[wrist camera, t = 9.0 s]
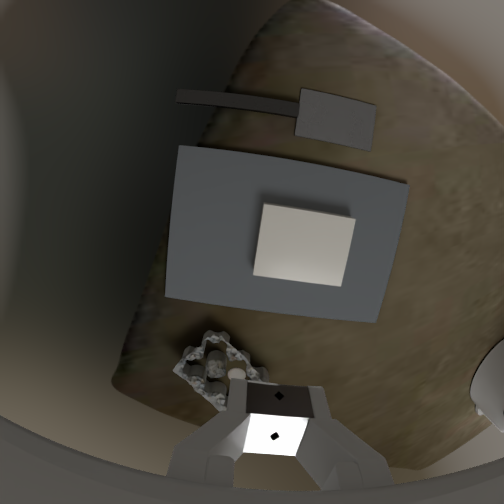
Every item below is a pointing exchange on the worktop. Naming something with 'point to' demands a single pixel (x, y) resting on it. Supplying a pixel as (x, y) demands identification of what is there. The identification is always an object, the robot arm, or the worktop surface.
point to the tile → (302, 244)
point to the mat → (248, 223)
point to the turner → (302, 113)
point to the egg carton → (216, 369)
